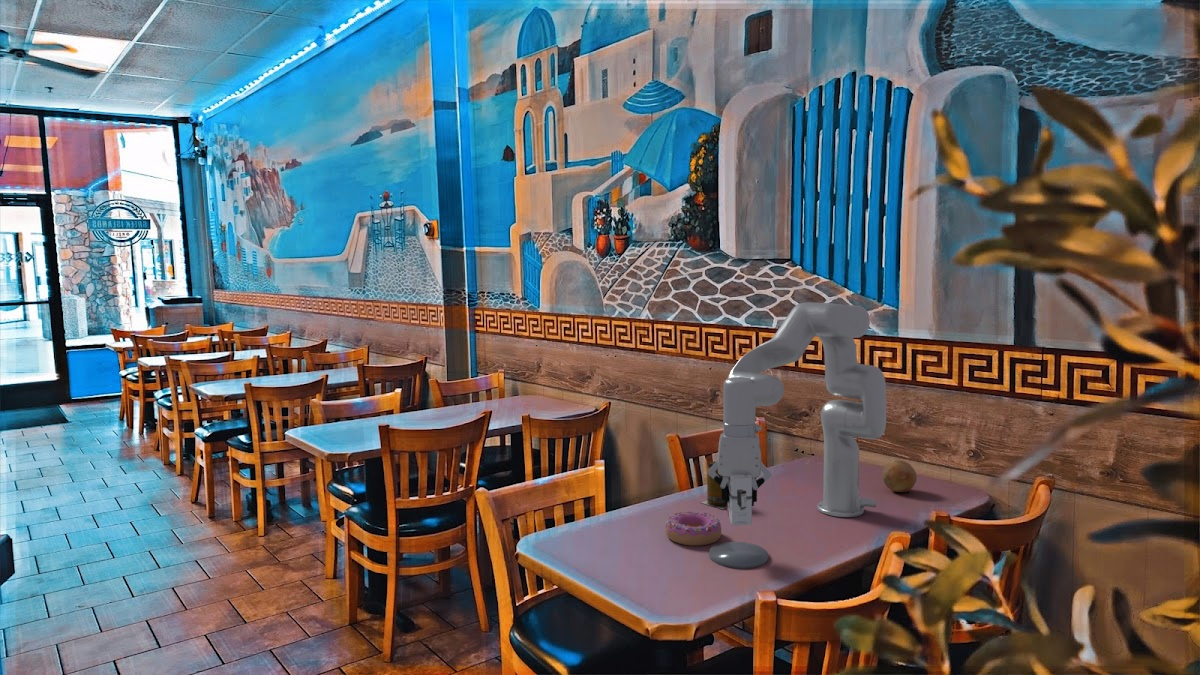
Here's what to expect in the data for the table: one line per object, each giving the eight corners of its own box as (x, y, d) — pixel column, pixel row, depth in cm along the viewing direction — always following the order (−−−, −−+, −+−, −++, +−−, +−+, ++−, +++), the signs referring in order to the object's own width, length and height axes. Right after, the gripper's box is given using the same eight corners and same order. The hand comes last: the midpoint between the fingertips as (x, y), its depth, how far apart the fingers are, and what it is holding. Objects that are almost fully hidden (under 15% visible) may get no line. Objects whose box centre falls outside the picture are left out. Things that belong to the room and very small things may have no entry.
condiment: (717, 497, 227) (717, 458, 225) (738, 504, 220) (739, 464, 219) (700, 503, 222) (700, 463, 221) (722, 510, 215) (722, 469, 214)
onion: (923, 494, 227) (924, 461, 226) (898, 498, 223) (899, 465, 222) (899, 485, 236) (900, 454, 235) (874, 489, 232) (875, 457, 231)
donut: (717, 550, 186) (717, 531, 185) (660, 545, 190) (660, 526, 190) (724, 530, 200) (724, 512, 199) (671, 525, 204) (671, 507, 203)
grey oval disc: (768, 547, 187) (768, 543, 187) (768, 570, 173) (768, 566, 173) (711, 543, 190) (711, 540, 190) (707, 565, 176) (707, 561, 176)
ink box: (726, 513, 185) (726, 466, 184) (746, 513, 185) (746, 466, 184) (731, 525, 177) (731, 476, 175) (752, 525, 176) (752, 476, 175)
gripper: (776, 427, 180) (775, 500, 182) (704, 425, 184) (704, 497, 186) (776, 434, 173) (776, 511, 175) (701, 432, 177) (701, 507, 179)
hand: (739, 503), depth 180 cm, fingers closed on ink box, 5 cm apart
